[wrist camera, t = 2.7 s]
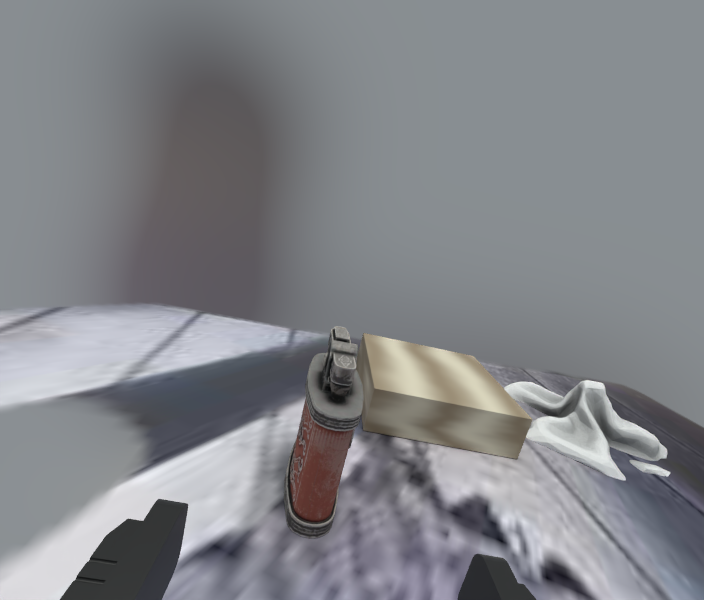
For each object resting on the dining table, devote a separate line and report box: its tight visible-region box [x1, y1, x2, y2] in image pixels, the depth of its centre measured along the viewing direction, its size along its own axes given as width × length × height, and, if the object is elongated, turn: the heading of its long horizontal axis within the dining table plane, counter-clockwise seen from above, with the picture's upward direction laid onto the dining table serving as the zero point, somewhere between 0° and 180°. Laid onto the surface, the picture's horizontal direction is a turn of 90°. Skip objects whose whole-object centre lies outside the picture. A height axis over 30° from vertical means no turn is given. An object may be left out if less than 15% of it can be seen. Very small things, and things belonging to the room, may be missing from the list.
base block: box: [356, 333, 532, 459], centre depth 37 cm, size 14×14×4 cm
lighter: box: [284, 326, 364, 538], centre depth 22 cm, size 8×3×10 cm, turn 5°
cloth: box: [504, 380, 670, 480], centre depth 41 cm, size 22×19×6 cm
